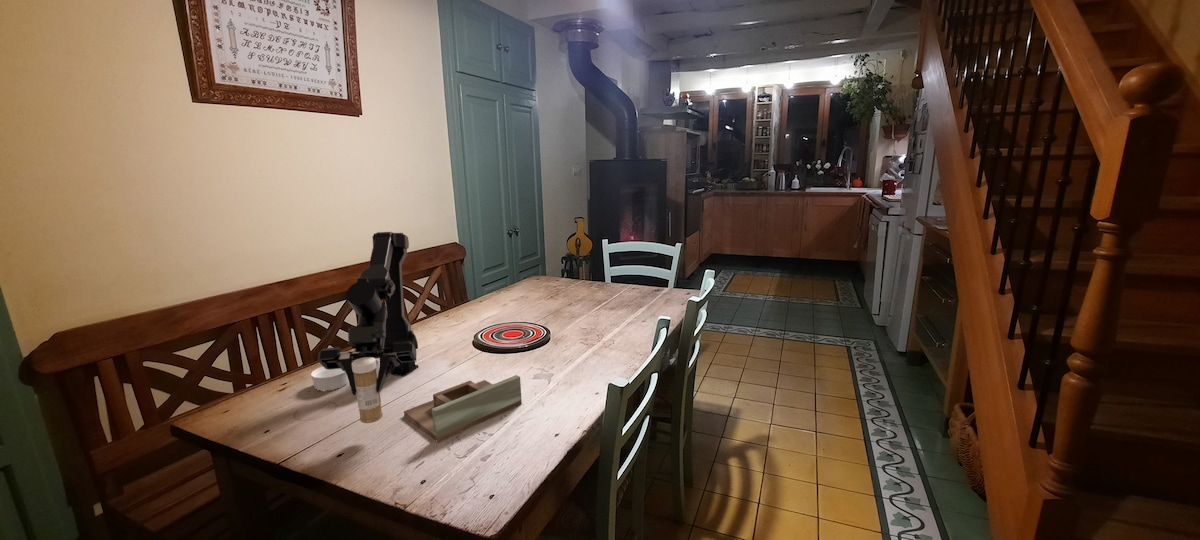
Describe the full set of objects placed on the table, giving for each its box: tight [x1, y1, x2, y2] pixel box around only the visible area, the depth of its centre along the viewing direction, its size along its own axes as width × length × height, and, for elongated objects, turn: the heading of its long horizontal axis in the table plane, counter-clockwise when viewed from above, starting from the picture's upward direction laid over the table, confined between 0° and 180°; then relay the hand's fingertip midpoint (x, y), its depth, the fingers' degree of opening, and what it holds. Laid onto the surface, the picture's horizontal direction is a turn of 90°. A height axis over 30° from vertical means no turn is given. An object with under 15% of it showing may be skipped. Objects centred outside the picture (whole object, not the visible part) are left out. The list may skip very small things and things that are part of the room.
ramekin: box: [310, 366, 349, 392], centre depth 130 cm, size 9×9×4 cm
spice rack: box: [403, 374, 523, 443], centre depth 116 cm, size 16×22×7 cm
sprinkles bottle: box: [352, 357, 384, 424], centre depth 103 cm, size 5×5×14 cm
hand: (366, 393), depth 102 cm, fingers closed on sprinkles bottle, 4 cm apart
